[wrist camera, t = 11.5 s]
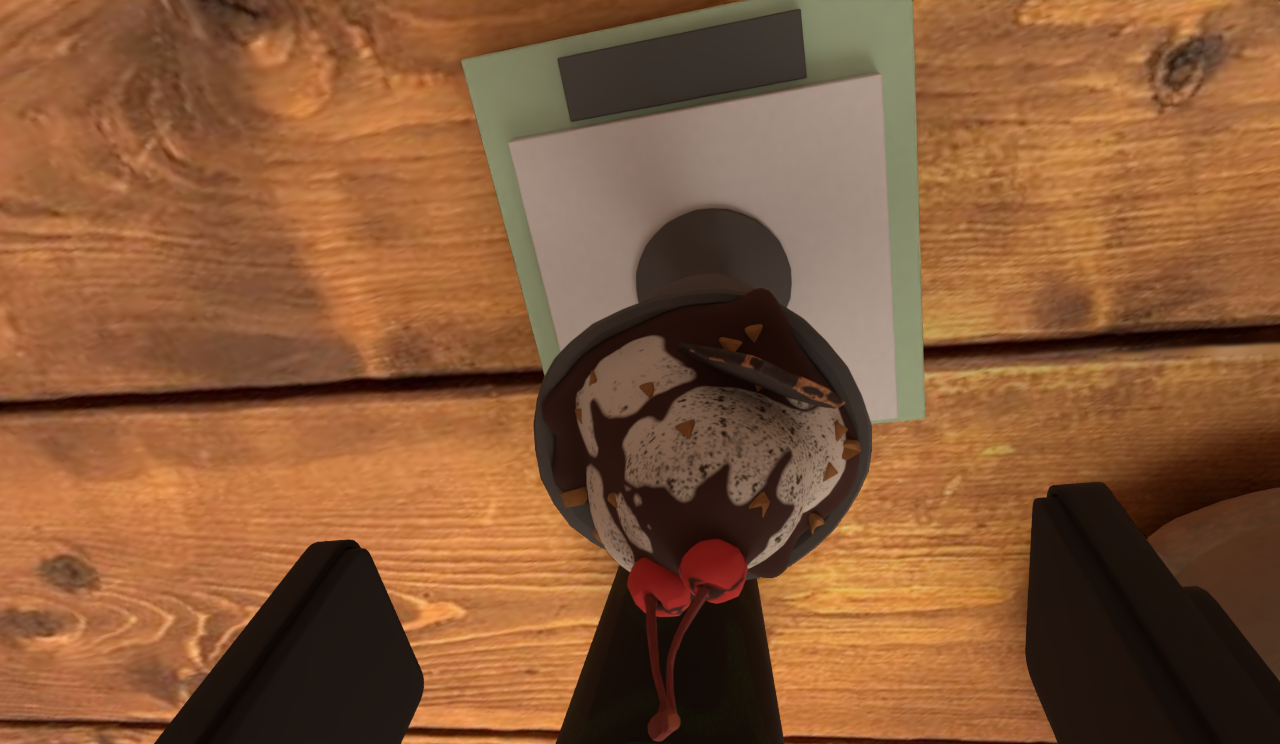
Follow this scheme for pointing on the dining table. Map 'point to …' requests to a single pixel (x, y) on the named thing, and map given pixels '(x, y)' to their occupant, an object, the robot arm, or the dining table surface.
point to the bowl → (1233, 563)
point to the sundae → (702, 427)
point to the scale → (721, 166)
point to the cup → (677, 675)
